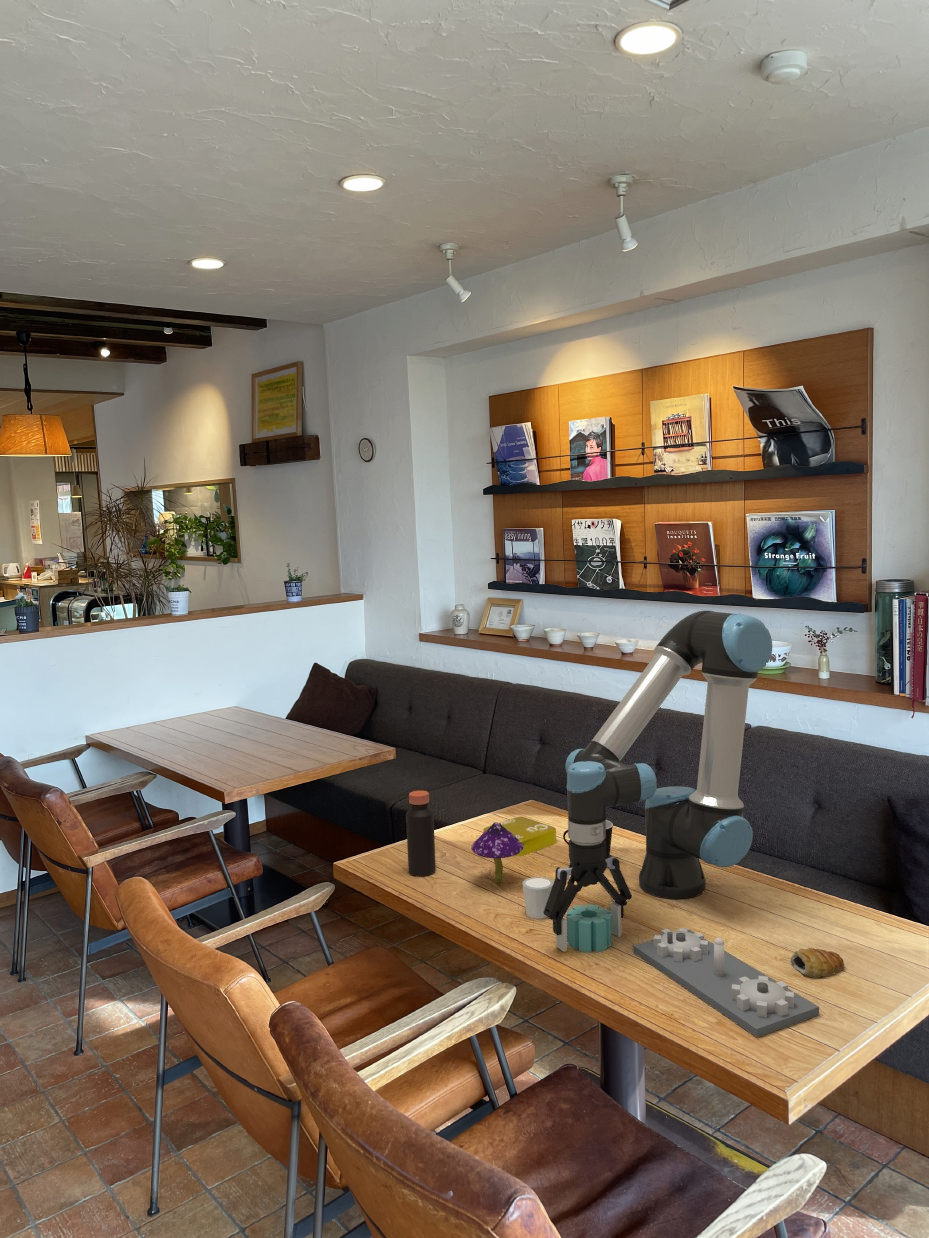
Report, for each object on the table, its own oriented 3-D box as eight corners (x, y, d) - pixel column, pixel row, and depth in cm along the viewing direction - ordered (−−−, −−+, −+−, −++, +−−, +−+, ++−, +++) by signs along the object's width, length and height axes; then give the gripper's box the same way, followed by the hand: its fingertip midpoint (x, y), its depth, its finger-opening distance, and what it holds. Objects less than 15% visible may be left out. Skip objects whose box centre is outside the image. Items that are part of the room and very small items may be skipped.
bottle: (433, 877, 222) (429, 797, 220) (405, 876, 223) (402, 797, 221) (438, 866, 229) (435, 789, 226) (411, 866, 230) (408, 789, 228)
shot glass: (552, 920, 196) (552, 889, 195) (521, 919, 197) (520, 888, 197) (556, 907, 203) (555, 877, 202) (525, 905, 204) (524, 875, 203)
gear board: (689, 936, 186) (689, 896, 186) (819, 1015, 156) (819, 968, 155) (633, 952, 180) (632, 911, 180) (756, 1037, 150) (756, 989, 149)
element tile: (521, 830, 254) (520, 813, 254) (559, 843, 243) (559, 826, 242) (480, 843, 245) (479, 826, 244) (518, 858, 233) (518, 840, 233)
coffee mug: (618, 860, 229) (617, 821, 228) (605, 872, 221) (605, 832, 220) (575, 852, 235) (575, 815, 234) (562, 864, 227) (561, 825, 226)
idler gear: (595, 928, 191) (594, 901, 191) (620, 945, 183) (619, 917, 183) (559, 938, 188) (558, 910, 187) (583, 956, 180) (582, 927, 179)
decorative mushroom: (461, 883, 218) (459, 822, 216) (499, 868, 226) (497, 810, 224) (497, 898, 208) (495, 835, 207) (535, 882, 216) (534, 821, 215)
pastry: (830, 957, 176) (830, 938, 176) (852, 974, 170) (853, 954, 169) (787, 964, 174) (787, 945, 173) (808, 982, 167) (808, 962, 167)
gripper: (544, 856, 175) (546, 963, 177) (648, 834, 185) (649, 934, 187) (524, 844, 181) (527, 947, 184) (626, 823, 192) (627, 920, 194)
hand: (589, 941), depth 185 cm, fingers open, 12 cm apart
